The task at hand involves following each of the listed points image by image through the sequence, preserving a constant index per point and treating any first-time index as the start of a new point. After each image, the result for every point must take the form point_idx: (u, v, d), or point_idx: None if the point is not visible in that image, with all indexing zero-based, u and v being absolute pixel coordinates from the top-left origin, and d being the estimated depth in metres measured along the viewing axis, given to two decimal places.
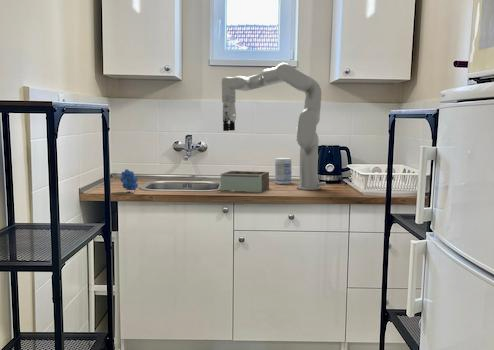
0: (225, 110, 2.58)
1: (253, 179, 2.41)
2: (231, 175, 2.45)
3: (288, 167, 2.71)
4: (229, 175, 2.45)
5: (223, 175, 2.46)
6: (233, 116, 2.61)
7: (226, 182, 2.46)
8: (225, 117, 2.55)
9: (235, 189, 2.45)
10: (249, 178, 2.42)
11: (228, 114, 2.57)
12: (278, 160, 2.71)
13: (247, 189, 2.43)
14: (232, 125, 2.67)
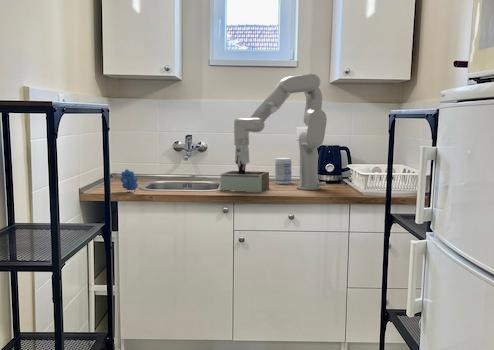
0: (238, 154, 2.40)
1: (253, 179, 2.41)
2: (231, 175, 2.44)
3: (288, 167, 2.71)
4: (229, 175, 2.45)
5: (223, 175, 2.46)
6: (246, 160, 2.44)
7: (226, 182, 2.46)
8: (240, 165, 2.41)
9: (235, 189, 2.45)
10: (249, 178, 2.42)
11: (241, 158, 2.39)
12: (278, 160, 2.71)
13: (247, 189, 2.43)
14: None
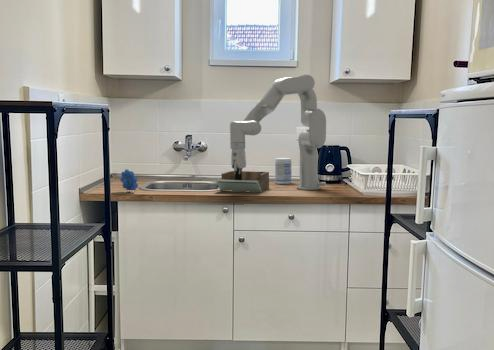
0: (234, 158, 2.34)
1: (250, 184, 2.37)
2: (227, 182, 2.39)
3: (288, 167, 2.71)
4: (225, 182, 2.39)
5: (219, 182, 2.40)
6: (243, 164, 2.37)
7: (224, 186, 2.43)
8: (237, 169, 2.35)
9: (235, 190, 2.44)
10: (246, 184, 2.37)
11: (237, 162, 2.33)
12: (278, 160, 2.71)
13: (246, 190, 2.42)
14: None
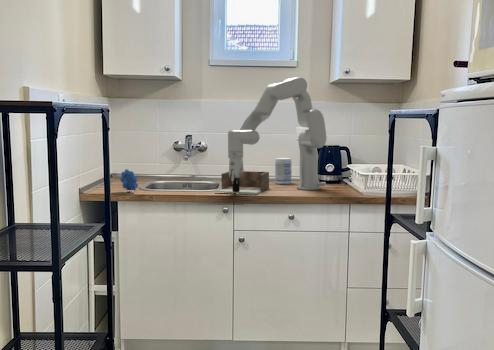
0: (232, 167, 2.31)
1: None
2: None
3: (288, 167, 2.71)
4: None
5: None
6: (240, 173, 2.35)
7: None
8: (234, 179, 2.32)
9: None
10: None
11: (235, 172, 2.31)
12: (278, 160, 2.71)
13: None
14: None
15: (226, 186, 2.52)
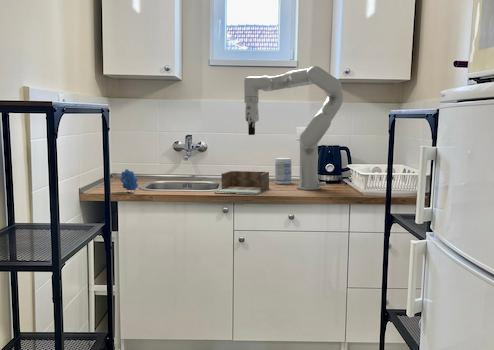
0: (248, 111, 2.48)
1: None
2: None
3: (288, 167, 2.71)
4: None
5: None
6: (256, 117, 2.51)
7: None
8: (250, 122, 2.49)
9: None
10: None
11: (251, 115, 2.47)
12: (278, 160, 2.71)
13: None
14: None
15: (226, 186, 2.52)
